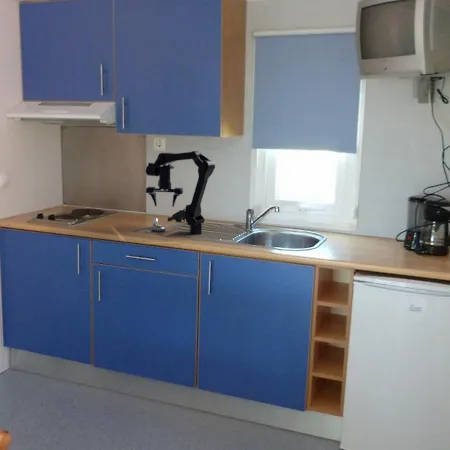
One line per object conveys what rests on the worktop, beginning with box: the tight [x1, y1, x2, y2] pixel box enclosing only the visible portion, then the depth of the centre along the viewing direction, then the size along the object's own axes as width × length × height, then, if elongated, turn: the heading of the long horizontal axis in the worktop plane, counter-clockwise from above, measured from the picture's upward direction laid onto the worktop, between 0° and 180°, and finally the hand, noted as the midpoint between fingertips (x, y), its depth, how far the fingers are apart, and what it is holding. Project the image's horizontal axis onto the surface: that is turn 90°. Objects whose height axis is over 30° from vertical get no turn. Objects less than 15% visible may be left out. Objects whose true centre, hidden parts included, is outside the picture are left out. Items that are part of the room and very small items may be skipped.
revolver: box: [167, 208, 187, 225], centre depth 306 cm, size 3×18×12 cm
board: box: [129, 225, 182, 237], centre depth 279 cm, size 22×16×1 cm
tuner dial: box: [151, 217, 167, 232], centre depth 279 cm, size 12×7×5 cm, turn 21°
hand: (164, 206), depth 282 cm, fingers open, 9 cm apart
